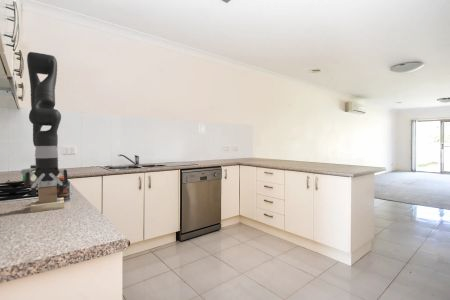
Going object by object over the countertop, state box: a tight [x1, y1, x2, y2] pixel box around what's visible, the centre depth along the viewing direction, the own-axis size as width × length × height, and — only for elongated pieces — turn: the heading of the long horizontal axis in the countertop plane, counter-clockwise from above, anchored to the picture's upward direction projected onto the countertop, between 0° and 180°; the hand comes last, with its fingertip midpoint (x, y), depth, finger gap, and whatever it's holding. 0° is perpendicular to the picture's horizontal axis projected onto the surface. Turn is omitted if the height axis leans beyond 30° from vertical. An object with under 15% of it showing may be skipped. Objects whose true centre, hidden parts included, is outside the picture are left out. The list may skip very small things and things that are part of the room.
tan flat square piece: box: [29, 197, 65, 213], centre depth 101 cm, size 10×11×3 cm
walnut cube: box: [37, 185, 57, 204], centre depth 101 cm, size 6×6×6 cm
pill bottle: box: [55, 175, 71, 202], centre depth 112 cm, size 6×6×11 cm
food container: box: [20, 167, 37, 187], centre depth 150 cm, size 12×6×10 cm, turn 21°
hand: (47, 195), depth 101 cm, fingers open, 8 cm apart
